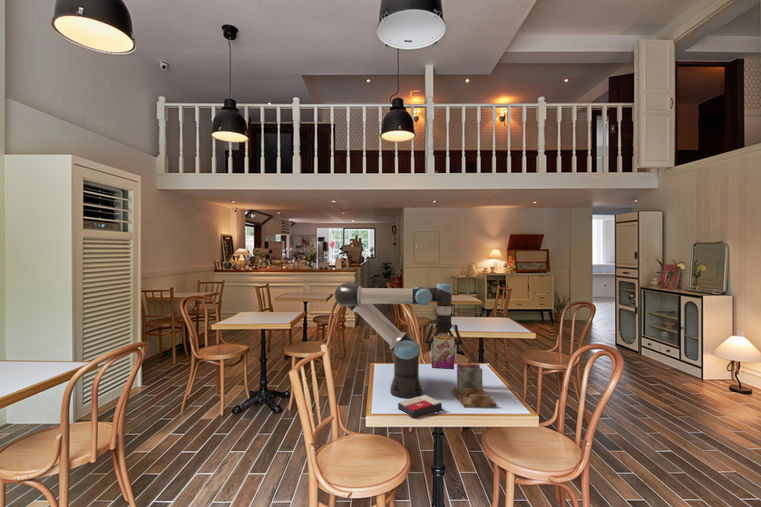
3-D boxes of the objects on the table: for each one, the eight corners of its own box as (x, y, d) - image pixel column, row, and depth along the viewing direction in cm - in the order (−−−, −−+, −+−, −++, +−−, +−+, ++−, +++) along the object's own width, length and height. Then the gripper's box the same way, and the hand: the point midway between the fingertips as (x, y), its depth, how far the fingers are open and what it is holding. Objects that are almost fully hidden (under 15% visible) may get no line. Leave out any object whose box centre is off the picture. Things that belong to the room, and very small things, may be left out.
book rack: (464, 407, 157) (464, 374, 157) (452, 390, 178) (452, 361, 178) (496, 407, 157) (496, 374, 158) (481, 390, 178) (481, 361, 179)
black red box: (397, 401, 154) (425, 393, 162) (397, 411, 154) (426, 403, 162) (412, 410, 145) (442, 401, 152) (413, 421, 145) (442, 411, 152)
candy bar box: (431, 368, 183) (432, 335, 183) (431, 366, 188) (432, 333, 188) (454, 369, 182) (455, 336, 182) (453, 367, 187) (454, 334, 187)
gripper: (421, 314, 182) (420, 359, 181) (469, 315, 182) (468, 359, 182) (419, 312, 189) (418, 355, 188) (465, 313, 190) (464, 355, 189)
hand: (443, 357), depth 185 cm, fingers closed on candy bar box, 11 cm apart
